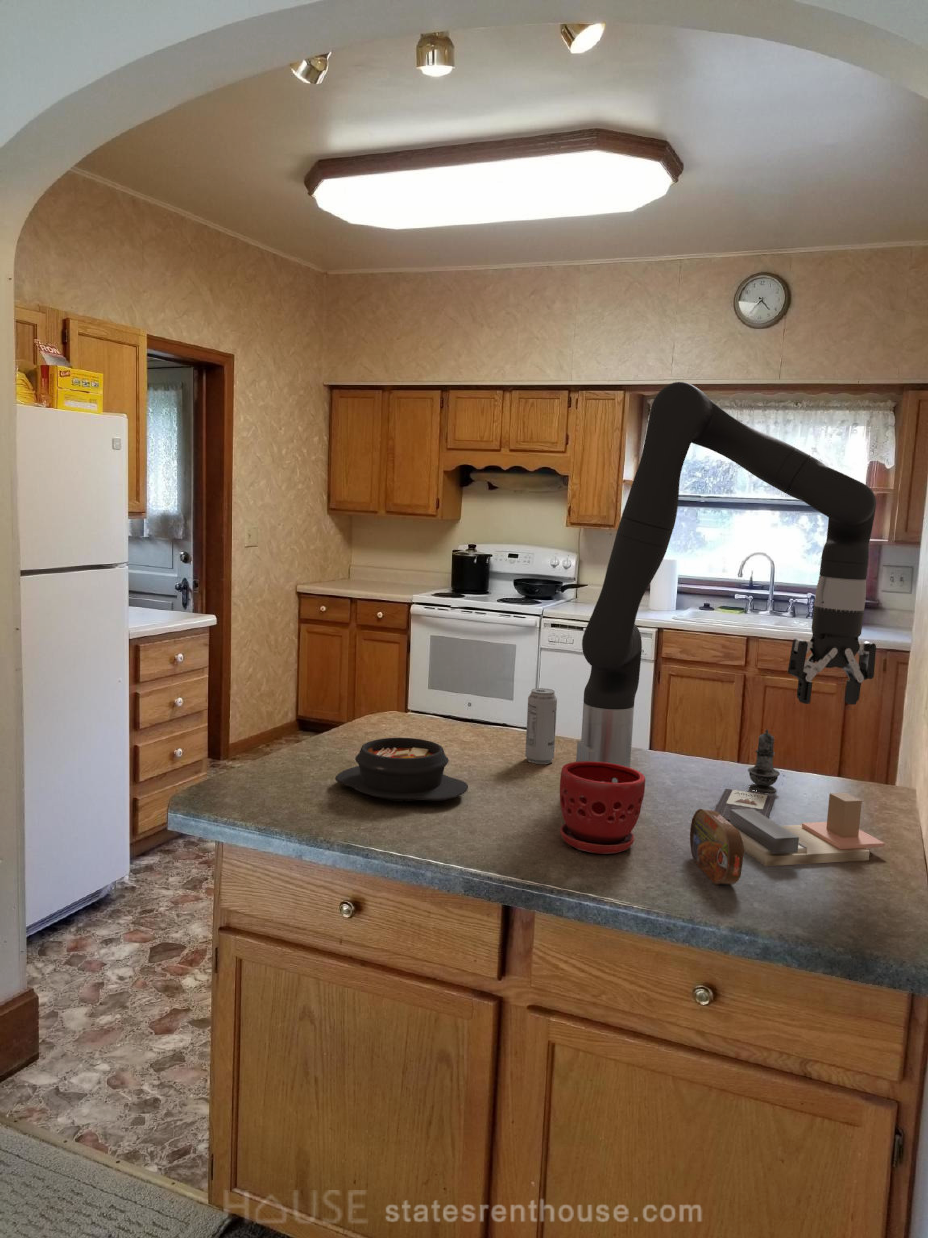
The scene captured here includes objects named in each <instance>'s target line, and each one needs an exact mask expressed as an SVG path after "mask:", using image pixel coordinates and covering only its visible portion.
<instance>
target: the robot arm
mask: <svg viewBox="0 0 928 1238" xmlns="http://www.w3.org/2000/svg"><path fill="white" fill-rule="evenodd" d="M691 444H693V445H696V446H700V447H703V448H706V449H709V450H710V451H713V452H715V453H717V454H719V455H721V456H723V457H725V458H727V459H728V460H730V461H732V462H733V463H735V464H737V465H739V466H740V467H742V469H744V470H746V471H747V472H748V473H750V474H751V475H752V476H754V477H756V478H758V479H759V480H761V481H763V482H764V483H766V484H768V485H769V486H771V487H773V488H775V489H777V490H779V491H780V492H782V493H784V494H786V495H788V496H790V497H792V498H794V499H796V500H799V501H802V502H804V503H805V504H806V505H808V506H810V507H812V508H813V509H815V510H816V511H818V512H819V513H821V514H822V515H824V516H826V517H827V518H828V522H827V531H826V540H825V541H826V542H825V544H824V545H823V548H822V552H821V558H820V560H821V561H820V567H819V568H820V569H819V576H818V580H817V584H816V588H815V597H814V605H813V612H812V613H813V614H812V621H811V632H812V633H811V634H812V636H811V639H810V640H803V639H800V638H794V639H793V640H792V645H791V651H790V657H789V663H788V667H787V668H788V669H787V673H788V675H790V676H793V677H794V678H795V677H796V678H797V680H798V681H797V682H798V683H797V690H796V698H797V699H798V702H800V703H801V704H804V705H809V704H811V700H812V699H811V697H812V689H813V681H812V680H813V679H814V678H815V676H817V674H818V673H820V672H822V671H823V670H824V668H827V669H832V668H838V669H842V670H843V671H844V673H845V674H846V676H847V678H848V679H849V680H846V683H845V684H846V685H845V693H844V703H846V704H848V705H850V706H851V705H853V706H855V705H856V704H857V702H858V701H859V699H860V696H861V695H860V694H861V687H862V684H863V683H862V682H864V681H865V680H872V679H873V678H874V677H875V667H876V651H877V645H876V644H875V642H874V643H873V642H870V641H865V640H861V642H859V637H860V636H861V635H862V630H863V623H864V621H863V620H864V614H865V605H866V597H867V576H868V567H869V559H870V558H869V556H870V553H869V552H870V551H869V549H870V548H869V547H870V541H871V538H872V537H871V536H872V532H873V527H874V522H875V521H874V520H875V514H876V510H877V509H876V508H877V498H876V495H875V493H874V491H873V490H872V489H871V488H870V487H869V485H867V484H865V483H863V482H862V481H860V480H857V479H855V478H853V477H851V476H849V475H847V474H845V473H843V472H840V471H838V470H836V469H834V468H832V467H830V466H827V465H826V464H824V463H823V462H822V461H820V460H819V459H817V458H815V457H814V456H811V455H810V454H808V453H806V452H805V451H803V450H800V449H799V448H798V447H795V446H793V445H791V444H789V443H787V442H786V441H783V440H782V439H781V440H780V439H778V438H777V437H774V436H772V435H769V434H767V433H765V432H762V431H759V430H757V429H755V428H753V427H751V426H749V425H747V424H746V423H744V422H742V421H740V420H739V419H737V418H735V417H733V416H732V415H731V414H729V413H728V412H726V411H725V410H724V409H723V408H721V407H720V406H719V405H717V404H716V403H715V402H714V401H712V400H711V398H709V397H708V395H707V394H706V393H705V392H704V391H702V390H701V389H699V388H698V387H696V386H695V385H693V384H691V383H689V382H686V381H685V382H684V381H676V382H672V383H669V384H667V385H666V386H664V387H663V388H662V389H661V390H659V392H658V393H657V395H656V396H655V397H654V400H653V401H652V403H651V407H650V411H649V417H648V422H647V427H646V434H645V438H644V444H643V447H642V448H643V449H642V452H641V456H640V460H639V464H638V467H637V470H636V472H635V475H634V477H633V480H632V483H631V487H630V490H629V492H628V496H627V500H626V502H625V505H624V509H623V511H622V514H621V517H620V521H619V524H618V527H617V530H616V534H615V537H614V541H613V542H614V543H613V546H612V549H611V552H610V553H611V554H610V556H609V560H608V564H607V568H606V572H605V576H604V580H603V584H602V588H601V591H600V594H599V596H598V597H597V598H598V599H597V601H596V603H595V606H594V609H593V611H592V613H591V616H590V617H589V621H588V623H587V625H586V627H585V629H584V632H583V635H582V640H581V649H582V654H583V656H584V658H585V660H586V662H587V663H588V664H589V666H591V668H590V676H589V678H588V681H587V683H586V686H585V687H584V691H583V703H582V704H583V705H582V708H583V709H582V718H581V719H582V723H581V738H580V740H578V741H577V742H576V754H575V755H576V760H575V762H580V761H594V762H606V763H612V764H618V765H622V766H626V767H629V768H631V762H632V761H631V759H632V746H633V745H632V743H633V726H634V714H635V713H634V711H635V702H636V701H635V699H636V694H637V692H638V687H639V683H640V674H641V673H640V671H641V663H642V662H641V660H642V653H643V652H642V651H643V650H642V647H643V645H642V643H643V642H642V634H641V632H640V629H639V628H638V626H637V625H636V618H637V614H638V611H639V607H640V606H641V603H642V599H643V597H644V595H645V593H646V592H647V590H648V588H649V586H650V584H651V583H652V581H653V579H654V578H655V576H656V574H657V572H658V570H659V568H660V566H661V565H662V563H663V560H664V558H665V556H666V552H667V550H668V548H669V544H670V540H671V537H672V535H673V532H674V528H675V524H676V520H677V514H678V507H679V495H680V493H679V492H680V483H681V482H680V480H681V475H682V470H683V468H684V467H683V466H684V463H685V459H686V457H687V455H688V452H689V449H690V447H691ZM809 652H810V655H809V656H808V657H807V654H808V653H809ZM857 654H858V655H859V657H858V661H857V659H856V658H855V656H856V655H857ZM806 657H807V658H806ZM601 782H604V781H601ZM612 782H613V783H617V782H618V780H617V779H616V778H613V779H612ZM581 797H583V796H581Z"/></svg>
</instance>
